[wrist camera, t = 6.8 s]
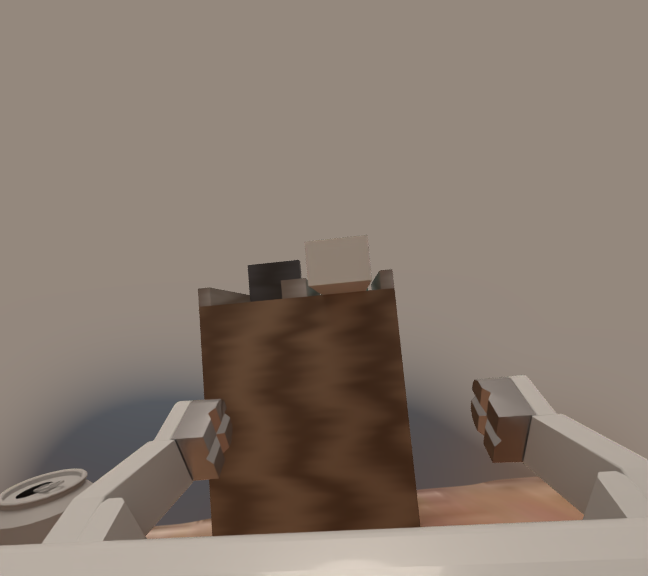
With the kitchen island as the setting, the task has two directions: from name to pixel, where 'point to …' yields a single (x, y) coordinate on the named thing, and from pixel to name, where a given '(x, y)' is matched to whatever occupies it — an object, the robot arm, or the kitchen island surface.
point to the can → (38, 505)
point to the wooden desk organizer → (308, 406)
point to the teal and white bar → (338, 265)
